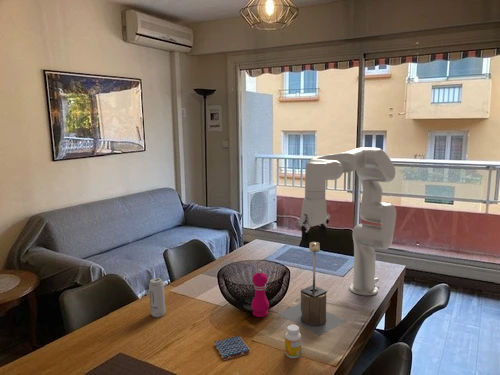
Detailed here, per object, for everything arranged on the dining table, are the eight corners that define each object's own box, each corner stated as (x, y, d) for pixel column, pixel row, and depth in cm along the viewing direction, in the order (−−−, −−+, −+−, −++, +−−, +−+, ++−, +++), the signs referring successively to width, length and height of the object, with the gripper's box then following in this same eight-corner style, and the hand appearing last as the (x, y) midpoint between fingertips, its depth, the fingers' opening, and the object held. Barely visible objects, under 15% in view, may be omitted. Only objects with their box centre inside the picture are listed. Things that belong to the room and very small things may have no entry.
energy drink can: (147, 314, 161) (145, 280, 158) (160, 309, 165) (158, 276, 163) (156, 319, 157) (154, 284, 154) (168, 314, 161) (166, 280, 159)
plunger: (312, 288, 156) (313, 239, 152) (327, 294, 150) (328, 243, 147) (300, 293, 151) (301, 243, 148) (314, 300, 146) (315, 247, 142)
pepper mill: (267, 320, 155) (267, 273, 151) (249, 319, 156) (249, 272, 153) (270, 312, 162) (270, 266, 158) (253, 310, 163) (252, 265, 160)
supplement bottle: (283, 349, 135) (283, 323, 134) (299, 348, 136) (299, 323, 134) (286, 359, 130) (286, 332, 128) (302, 358, 130) (302, 331, 129)
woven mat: (223, 362, 129) (223, 357, 129) (213, 346, 139) (213, 340, 139) (251, 355, 133) (251, 349, 133) (240, 339, 143) (240, 334, 143)
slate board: (304, 303, 168) (304, 301, 168) (346, 323, 152) (346, 320, 152) (277, 316, 158) (277, 313, 158) (319, 338, 142) (319, 335, 141)
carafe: (309, 310, 160) (310, 282, 158) (331, 320, 152) (332, 291, 150) (293, 318, 154) (293, 289, 152) (314, 329, 146) (315, 298, 144)
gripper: (322, 191, 152) (321, 233, 155) (291, 196, 141) (290, 241, 144) (337, 193, 147) (336, 237, 149) (307, 199, 136) (306, 246, 138)
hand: (314, 239), depth 147 cm, fingers open, 9 cm apart
